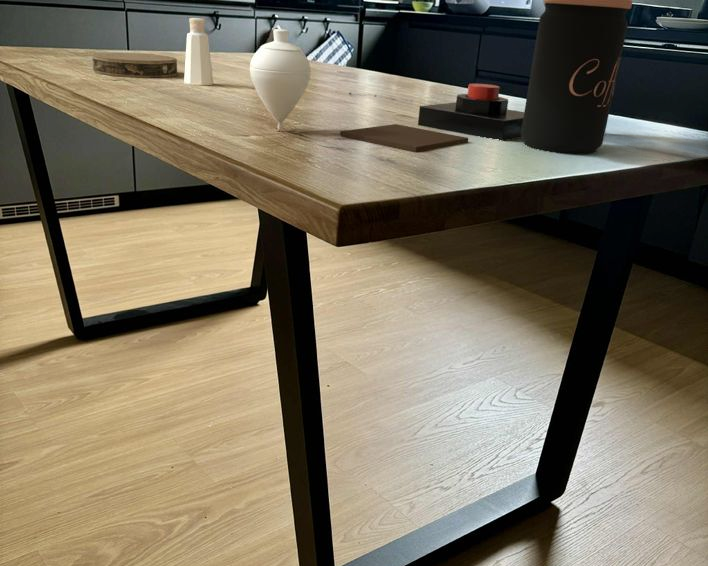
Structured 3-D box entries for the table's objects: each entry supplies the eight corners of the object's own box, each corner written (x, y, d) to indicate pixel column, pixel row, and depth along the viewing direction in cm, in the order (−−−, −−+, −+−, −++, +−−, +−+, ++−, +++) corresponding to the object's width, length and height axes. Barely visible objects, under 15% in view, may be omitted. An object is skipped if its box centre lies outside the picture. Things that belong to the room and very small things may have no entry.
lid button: (503, 101, 103) (505, 86, 102) (487, 103, 100) (489, 88, 99) (476, 97, 106) (478, 83, 105) (461, 99, 103) (463, 84, 102)
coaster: (468, 142, 94) (468, 137, 94) (415, 152, 86) (416, 147, 85) (395, 128, 101) (395, 123, 101) (339, 135, 92) (340, 131, 92)
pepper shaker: (186, 85, 129) (184, 18, 125) (181, 81, 134) (179, 16, 129) (216, 85, 131) (215, 20, 126) (210, 82, 136) (209, 18, 131)
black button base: (538, 134, 105) (544, 101, 103) (501, 141, 97) (507, 106, 95) (457, 119, 112) (461, 89, 111) (417, 125, 105) (420, 92, 103)
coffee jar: (561, 157, 89) (591, -4, 81) (502, 141, 97) (524, -7, 89) (617, 153, 94) (651, 1, 86) (557, 138, 102) (583, -2, 94)
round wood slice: (161, 68, 152) (160, 53, 150) (189, 77, 140) (188, 61, 139) (84, 67, 144) (82, 51, 142) (106, 77, 132) (105, 59, 130)
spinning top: (244, 124, 95) (243, 25, 90) (299, 125, 98) (302, 29, 92) (257, 135, 89) (257, 29, 84) (316, 135, 91) (320, 32, 86)
